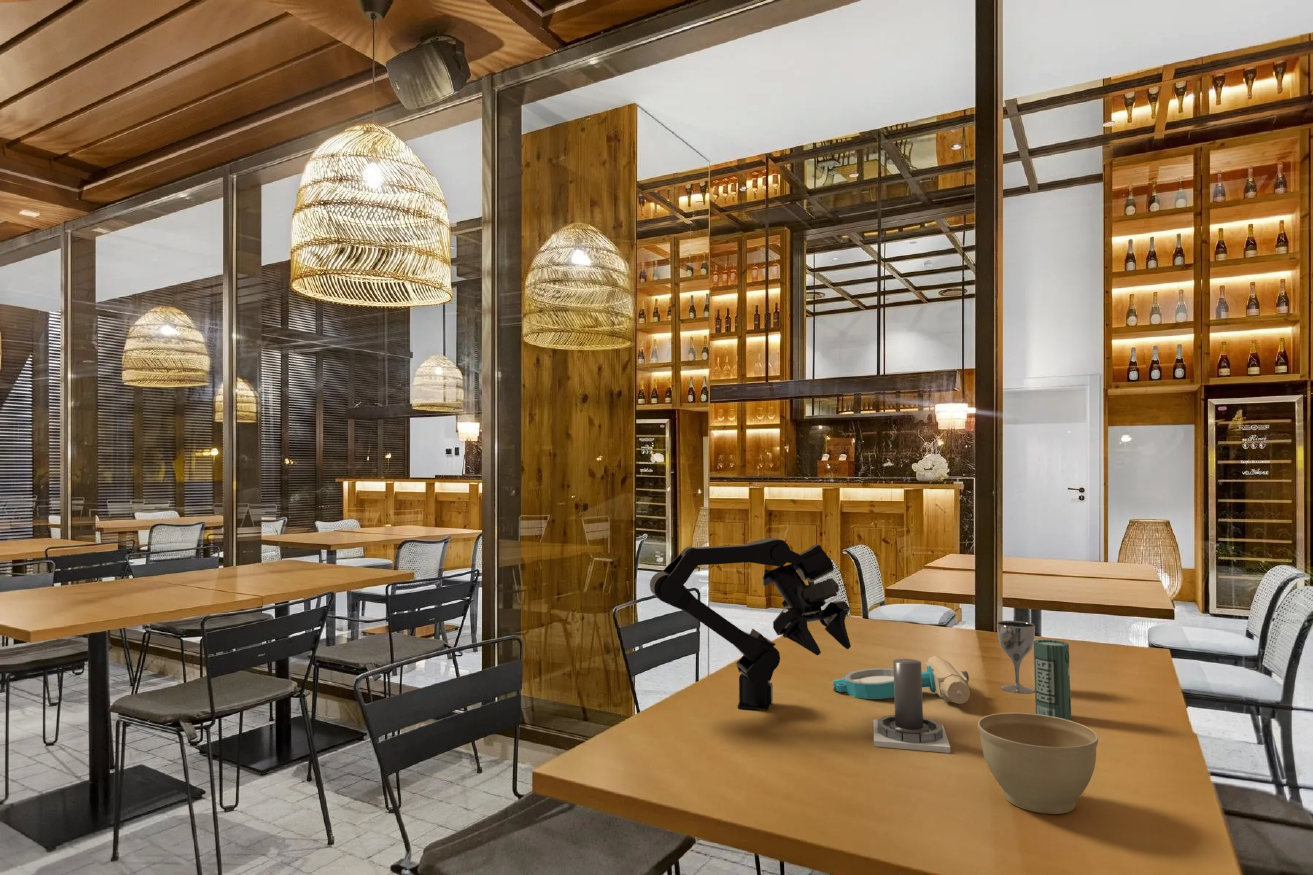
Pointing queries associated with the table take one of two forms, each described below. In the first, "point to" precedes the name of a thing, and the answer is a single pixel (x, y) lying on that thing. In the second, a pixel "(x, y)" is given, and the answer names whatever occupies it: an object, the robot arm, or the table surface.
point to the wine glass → (1016, 647)
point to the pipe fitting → (908, 697)
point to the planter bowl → (1039, 759)
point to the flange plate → (910, 736)
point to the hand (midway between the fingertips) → (834, 650)
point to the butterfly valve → (881, 682)
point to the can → (1052, 678)
